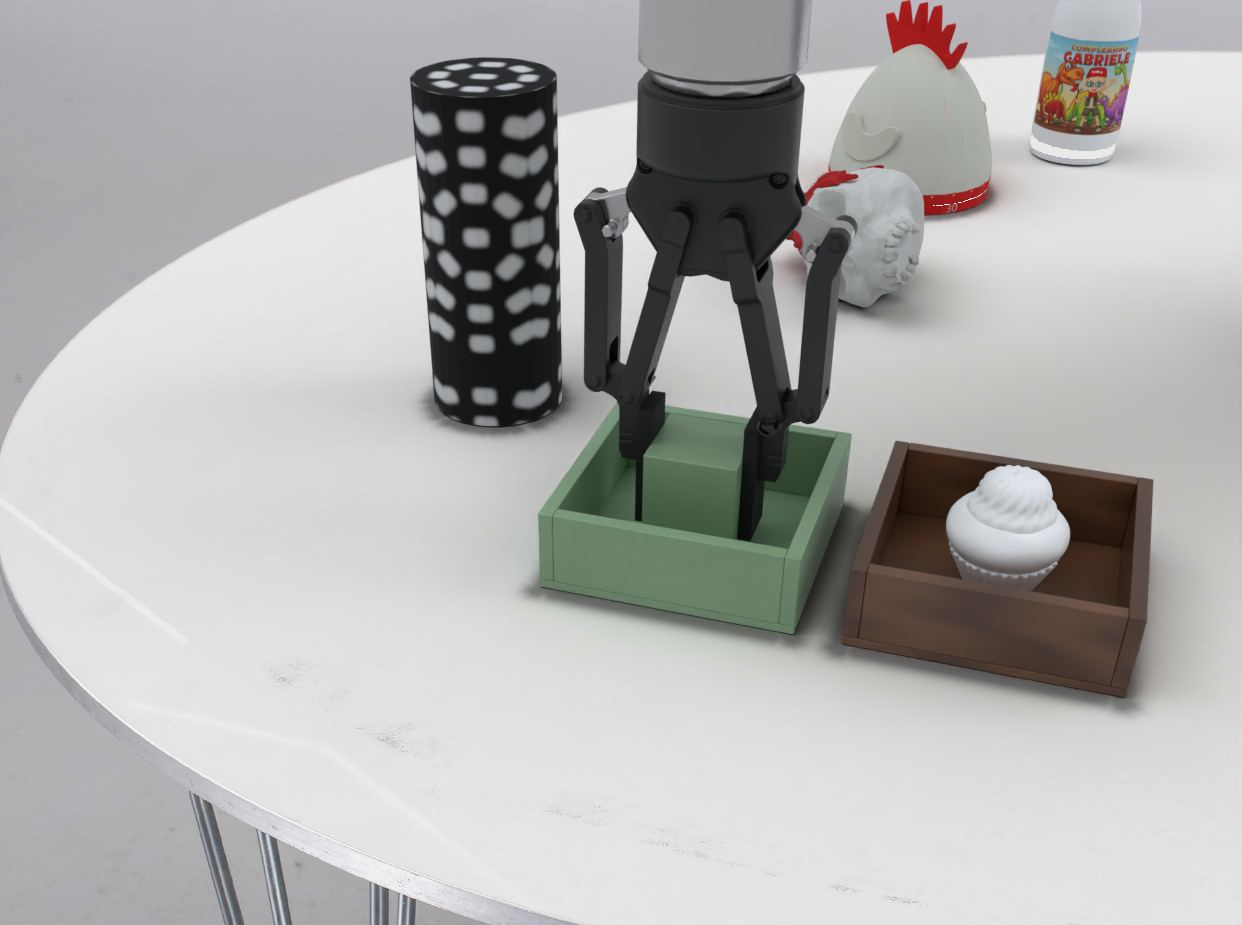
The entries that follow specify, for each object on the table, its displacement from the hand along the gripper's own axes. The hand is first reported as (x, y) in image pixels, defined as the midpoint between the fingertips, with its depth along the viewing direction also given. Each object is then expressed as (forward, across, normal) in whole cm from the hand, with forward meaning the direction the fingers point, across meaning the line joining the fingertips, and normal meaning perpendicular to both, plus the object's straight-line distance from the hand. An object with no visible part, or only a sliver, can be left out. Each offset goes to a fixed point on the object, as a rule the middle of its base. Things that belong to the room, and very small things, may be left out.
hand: (698, 517), depth 78 cm
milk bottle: (+2, -15, -76) cm, 77 cm away
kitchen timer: (+2, -2, -62) cm, 62 cm away
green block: (0, 0, 0) cm, 0 cm away
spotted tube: (+2, +17, -13) cm, 21 cm away
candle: (+2, -1, -39) cm, 39 cm away
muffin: (+1, -16, 0) cm, 16 cm away
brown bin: (+2, -16, 0) cm, 16 cm away
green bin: (+2, 0, 0) cm, 2 cm away
